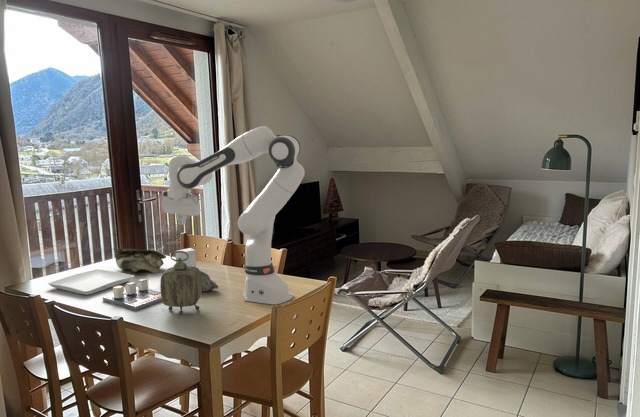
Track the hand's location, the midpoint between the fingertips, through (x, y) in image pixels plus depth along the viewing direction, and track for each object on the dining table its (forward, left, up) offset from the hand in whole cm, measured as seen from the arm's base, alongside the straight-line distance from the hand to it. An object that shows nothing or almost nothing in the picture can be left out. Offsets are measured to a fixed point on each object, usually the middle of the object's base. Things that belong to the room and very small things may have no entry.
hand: (182, 224), depth 211 cm
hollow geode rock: (+51, -14, -32) cm, 62 cm away
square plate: (+47, +15, -32) cm, 59 cm away
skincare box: (+16, -15, -31) cm, 38 cm away
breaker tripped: (+15, +23, -29) cm, 40 cm away
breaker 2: (+15, +11, -29) cm, 34 cm away
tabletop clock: (-18, +18, -31) cm, 40 cm away
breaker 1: (+15, +17, -29) cm, 37 cm away
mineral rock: (-4, -5, -31) cm, 32 cm away
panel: (+11, +17, -31) cm, 37 cm away
